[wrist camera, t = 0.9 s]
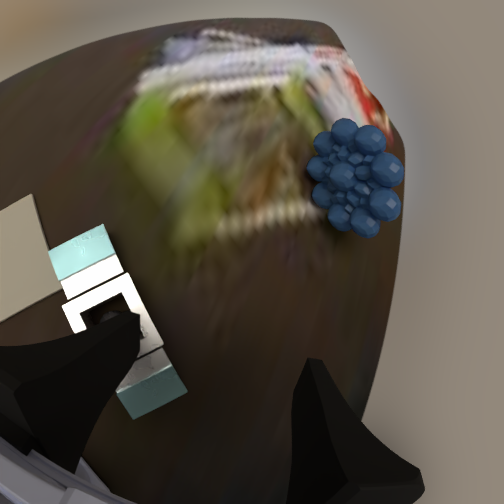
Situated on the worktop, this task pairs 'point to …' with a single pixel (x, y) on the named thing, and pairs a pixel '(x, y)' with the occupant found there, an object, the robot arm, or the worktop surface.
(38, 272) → the mat
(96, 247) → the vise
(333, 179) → the grapes
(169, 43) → the worktop surface
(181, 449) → the worktop surface
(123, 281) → the grey hollow block
